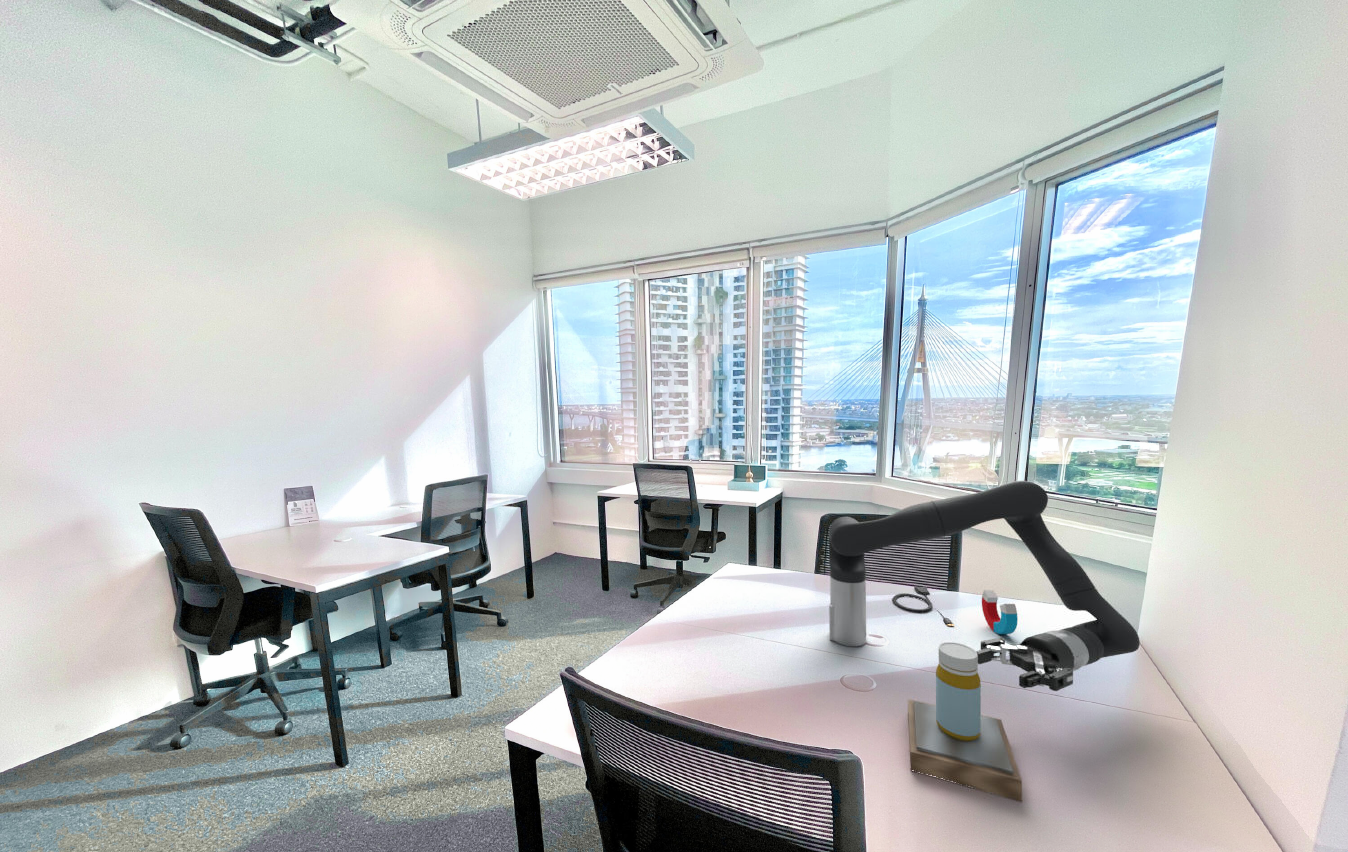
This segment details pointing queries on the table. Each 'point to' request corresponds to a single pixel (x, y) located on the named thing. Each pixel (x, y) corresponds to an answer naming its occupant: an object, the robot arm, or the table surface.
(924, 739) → the plinth
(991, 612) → the magnet
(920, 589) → the cable
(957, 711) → the bottle
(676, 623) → the table surface
